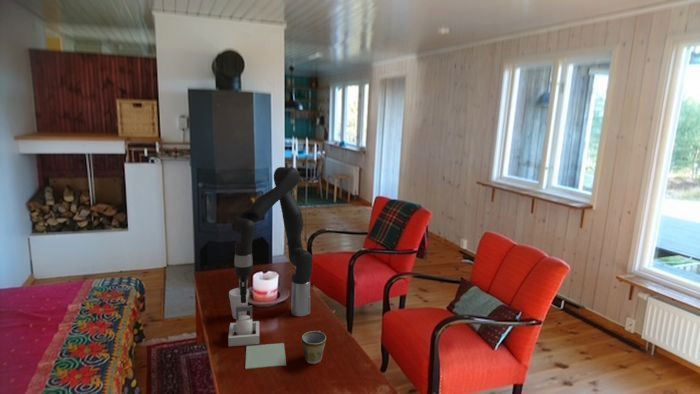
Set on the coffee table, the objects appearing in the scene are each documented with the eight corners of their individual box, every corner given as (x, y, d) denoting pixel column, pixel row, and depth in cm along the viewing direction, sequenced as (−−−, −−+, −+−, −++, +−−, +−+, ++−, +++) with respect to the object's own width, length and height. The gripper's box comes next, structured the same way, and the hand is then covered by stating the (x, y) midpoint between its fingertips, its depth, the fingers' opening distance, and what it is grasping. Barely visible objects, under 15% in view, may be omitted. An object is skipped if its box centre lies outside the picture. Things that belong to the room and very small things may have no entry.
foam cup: (251, 312, 210) (251, 288, 208) (245, 321, 201) (245, 296, 199) (233, 311, 211) (233, 287, 209) (226, 320, 202) (225, 295, 200)
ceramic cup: (322, 368, 168) (322, 345, 166) (298, 364, 170) (298, 341, 168) (330, 350, 180) (330, 329, 178) (307, 347, 182) (308, 326, 180)
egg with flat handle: (236, 333, 190) (236, 303, 187) (252, 332, 192) (252, 302, 189) (236, 342, 184) (235, 310, 181) (252, 340, 185) (252, 309, 182)
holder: (259, 328, 195) (259, 321, 195) (259, 344, 183) (259, 335, 182) (230, 331, 193) (230, 323, 192) (228, 346, 180) (228, 338, 179)
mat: (283, 343, 184) (283, 343, 184) (286, 365, 169) (286, 364, 168) (246, 346, 180) (246, 346, 180) (245, 369, 165) (245, 368, 165)
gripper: (252, 269, 175) (252, 305, 178) (252, 257, 188) (252, 291, 192) (233, 269, 173) (234, 306, 176) (235, 258, 187) (235, 291, 190)
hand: (243, 298), depth 184 cm, fingers open, 8 cm apart
